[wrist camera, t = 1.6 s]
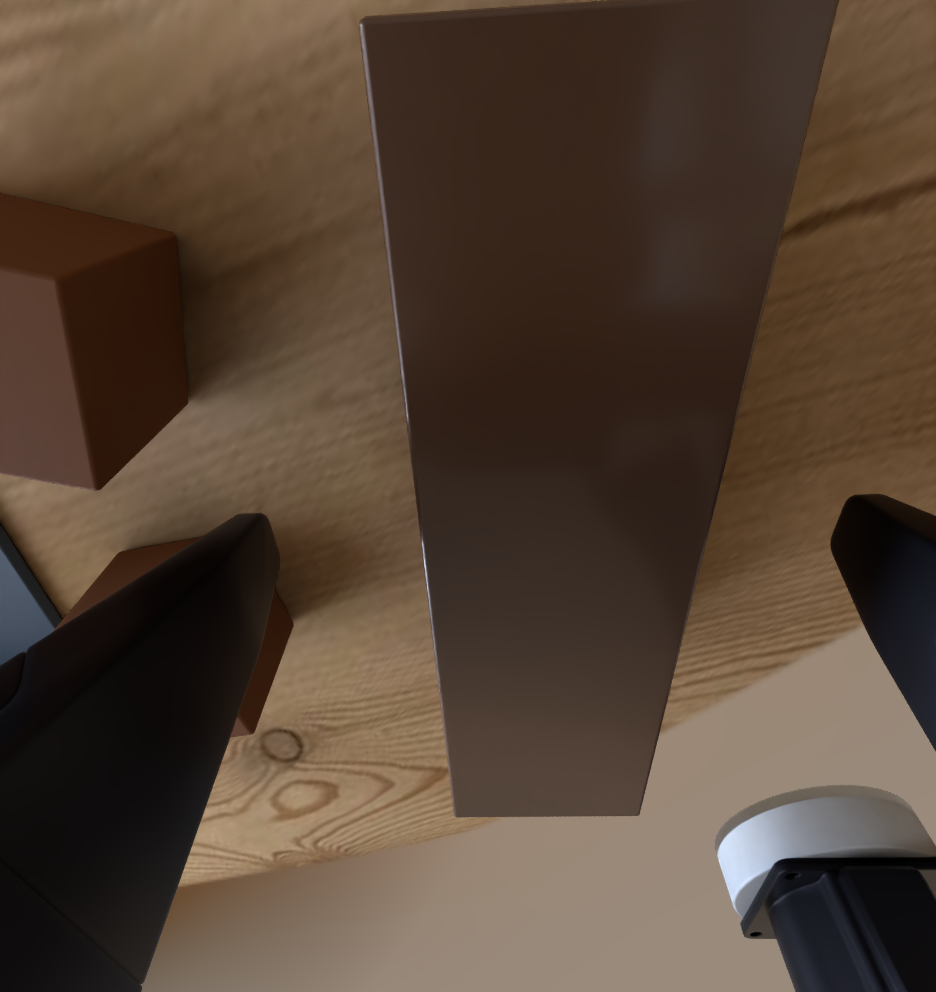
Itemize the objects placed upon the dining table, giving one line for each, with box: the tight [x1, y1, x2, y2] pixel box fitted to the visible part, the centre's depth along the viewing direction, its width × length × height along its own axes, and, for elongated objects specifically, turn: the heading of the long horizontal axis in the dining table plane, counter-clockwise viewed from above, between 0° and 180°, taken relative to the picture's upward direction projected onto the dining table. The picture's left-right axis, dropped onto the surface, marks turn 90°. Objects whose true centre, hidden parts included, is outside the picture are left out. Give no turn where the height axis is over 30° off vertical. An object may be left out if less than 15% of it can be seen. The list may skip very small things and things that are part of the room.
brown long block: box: [359, 0, 839, 817], centre depth 9 cm, size 12×4×4 cm, turn 3°
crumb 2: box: [53, 537, 293, 737], centre depth 12 cm, size 3×3×3 cm
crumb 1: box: [0, 193, 188, 491], centre depth 8 cm, size 3×3×3 cm
